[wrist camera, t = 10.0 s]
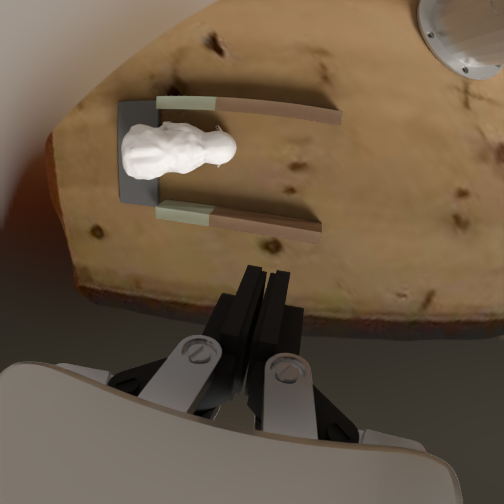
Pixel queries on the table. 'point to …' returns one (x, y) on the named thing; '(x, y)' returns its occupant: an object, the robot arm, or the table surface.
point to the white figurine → (173, 149)
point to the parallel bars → (237, 217)
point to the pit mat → (129, 186)
